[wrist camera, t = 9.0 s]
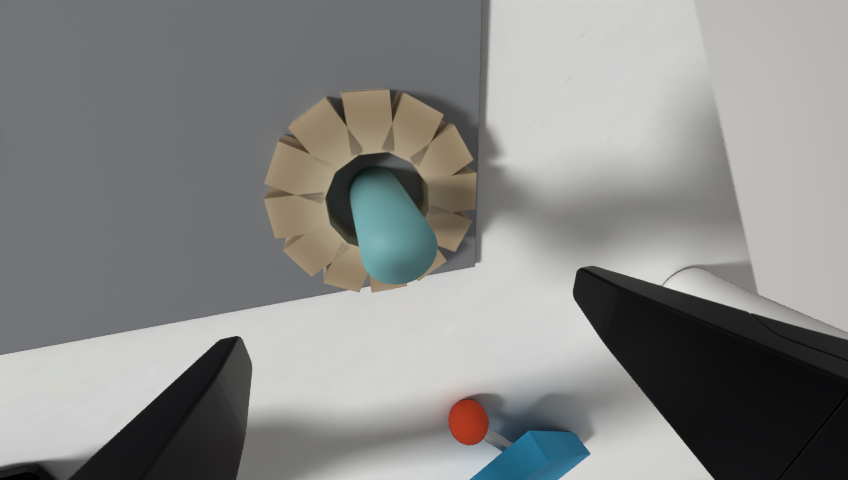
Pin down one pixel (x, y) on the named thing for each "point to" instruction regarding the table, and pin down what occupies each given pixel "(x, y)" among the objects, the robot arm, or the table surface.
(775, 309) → the drinking glass
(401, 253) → the teal peg
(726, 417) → the robot arm
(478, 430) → the lever
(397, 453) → the table surface
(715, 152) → the table surface
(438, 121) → the birch segmented ring
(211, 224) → the charcoal mat
